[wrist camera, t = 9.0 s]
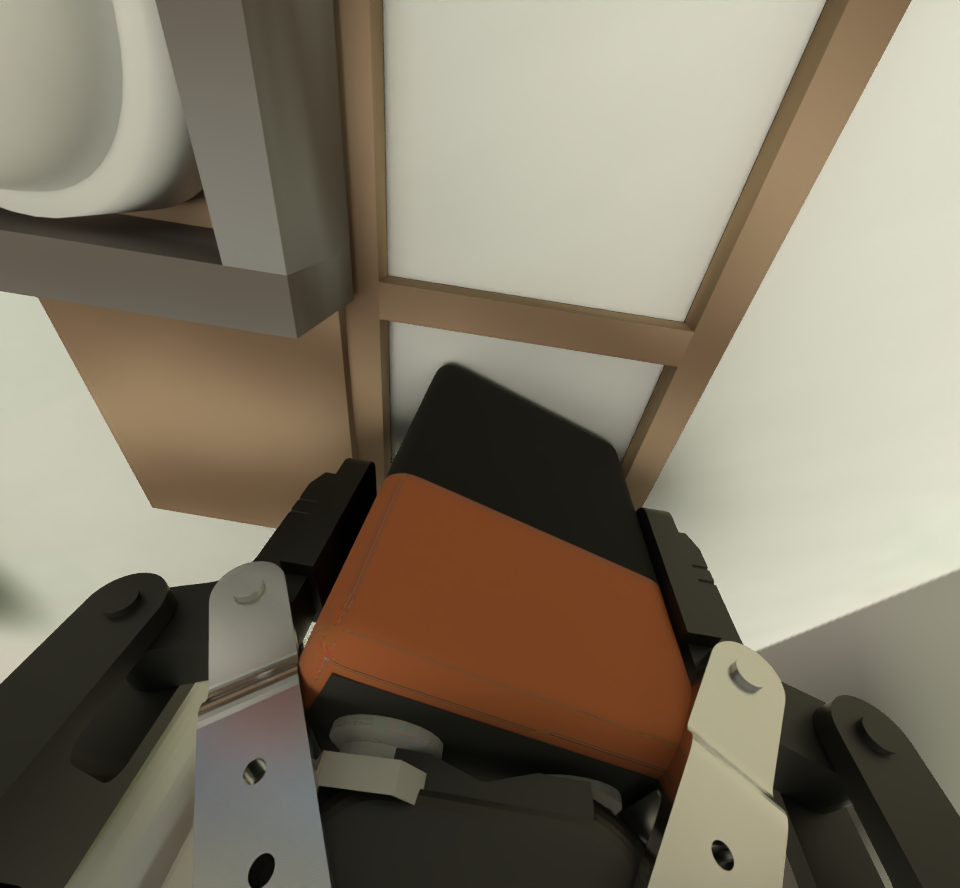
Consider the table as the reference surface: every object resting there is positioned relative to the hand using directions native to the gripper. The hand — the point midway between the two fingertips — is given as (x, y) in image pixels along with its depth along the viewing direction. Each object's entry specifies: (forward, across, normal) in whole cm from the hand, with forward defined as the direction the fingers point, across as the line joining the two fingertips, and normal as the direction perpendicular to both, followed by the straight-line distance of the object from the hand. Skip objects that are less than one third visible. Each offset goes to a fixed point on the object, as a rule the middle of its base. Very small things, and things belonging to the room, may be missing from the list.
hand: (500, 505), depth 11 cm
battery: (+3, 0, 0) cm, 3 cm away
